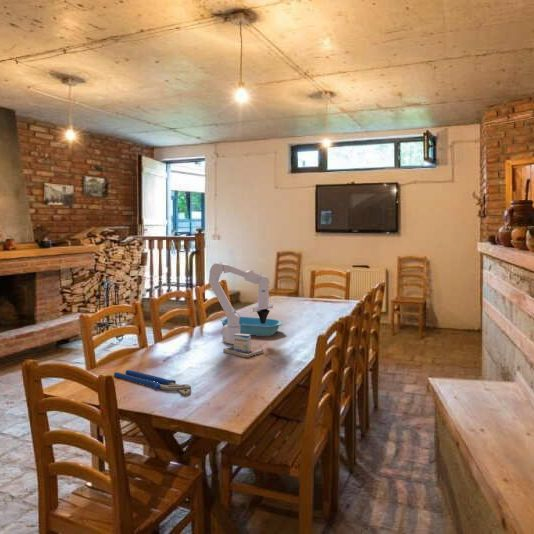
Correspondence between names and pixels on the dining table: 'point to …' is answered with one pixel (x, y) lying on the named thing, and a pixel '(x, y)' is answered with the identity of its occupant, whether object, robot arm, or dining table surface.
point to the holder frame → (229, 350)
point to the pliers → (168, 385)
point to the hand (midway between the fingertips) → (262, 323)
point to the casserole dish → (256, 326)
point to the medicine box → (242, 342)
